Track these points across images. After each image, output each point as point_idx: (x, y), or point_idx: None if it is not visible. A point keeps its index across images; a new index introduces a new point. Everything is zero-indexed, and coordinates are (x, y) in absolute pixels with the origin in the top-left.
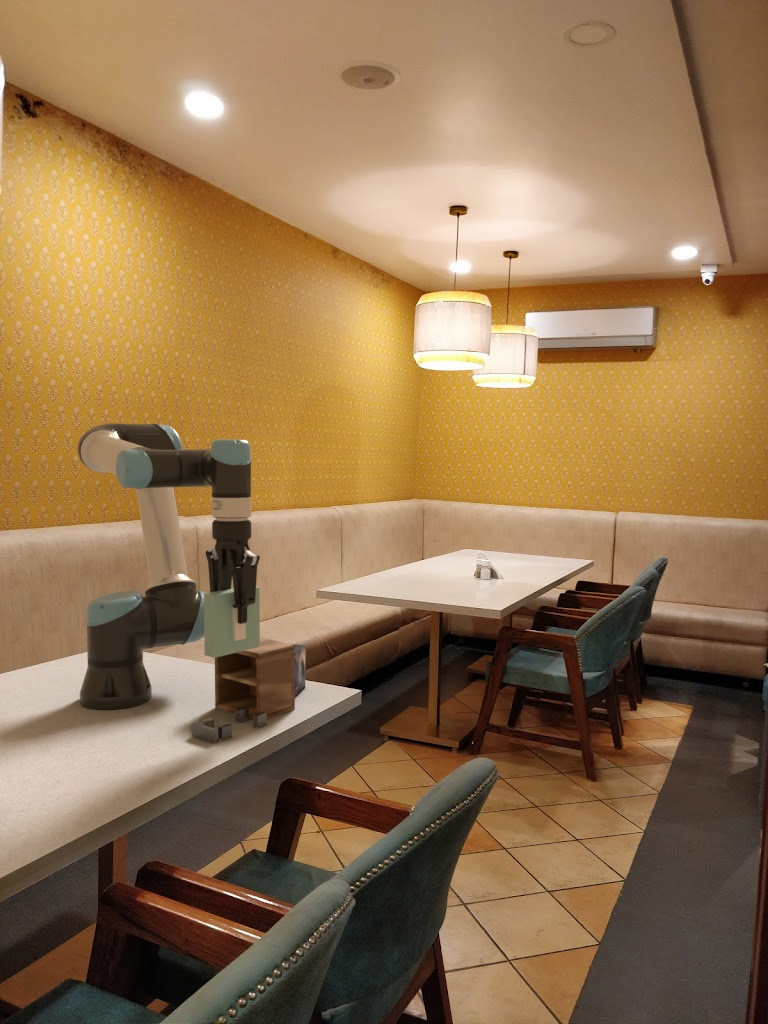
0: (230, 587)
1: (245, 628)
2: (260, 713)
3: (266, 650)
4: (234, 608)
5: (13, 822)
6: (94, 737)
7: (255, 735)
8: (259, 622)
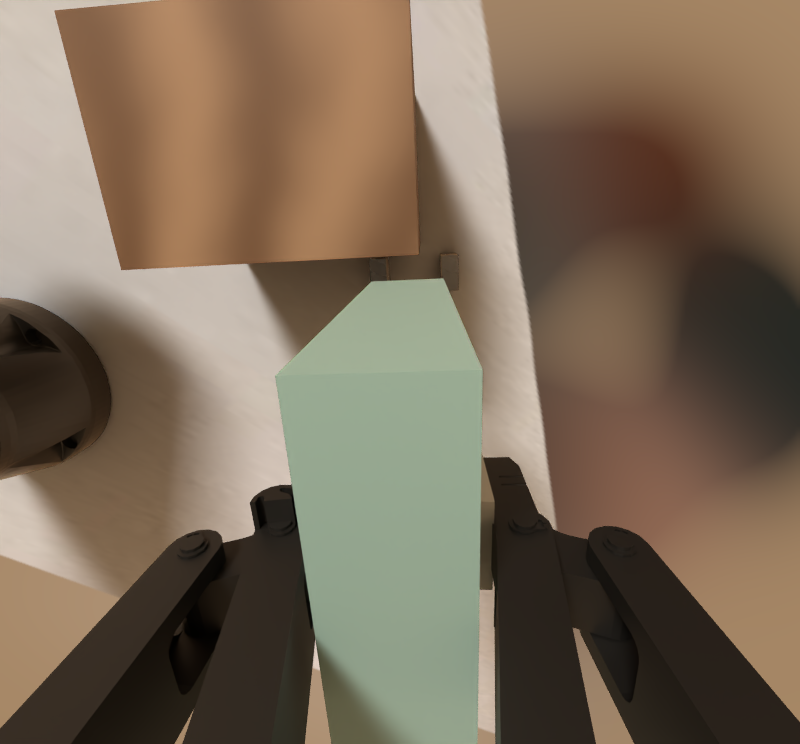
0: (290, 629)
1: None
2: (448, 269)
3: (393, 188)
4: (486, 585)
5: (479, 723)
6: (251, 531)
7: (488, 321)
8: (450, 296)
